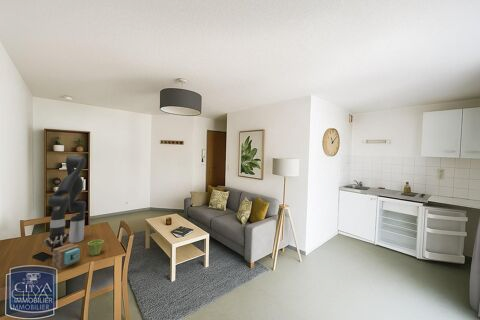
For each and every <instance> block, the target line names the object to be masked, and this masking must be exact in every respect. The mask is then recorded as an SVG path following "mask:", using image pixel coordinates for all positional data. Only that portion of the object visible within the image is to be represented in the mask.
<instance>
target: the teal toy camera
mask: <svg viewBox="0 0 480 320" xmlns="http://www.w3.org/2000/svg"><path fill="white" fill-rule="evenodd" d="M75 253H77V254H78V256H77V258H75V259H72V258H71V255H72V254H75ZM80 255H81V249H80V248H79V249H78V248H76V249H73V250H70V251H67V252H65V254H64V264H70V263H72V262H75V261H77V260H78V261H79V260H80Z"/></svg>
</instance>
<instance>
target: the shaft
mask: <svg viewBox="0 0 480 320" xmlns="http://www.w3.org/2000/svg"><path fill="white" fill-rule="evenodd" d="M58 247H60V242H58V241H57V242H56V244H55V248H58ZM77 256H78V254H77V253H75V254H72V255H71V258H72V259H75V258H77Z"/></svg>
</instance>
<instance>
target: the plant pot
mask: <svg viewBox="0 0 480 320" xmlns="http://www.w3.org/2000/svg"><path fill="white" fill-rule="evenodd" d="M103 244H104V240H103V239H94V240H90V241H89V242H87V245H88V249H89V256H92V257H93V256H98V255H100V254H101V251H102V246H103Z"/></svg>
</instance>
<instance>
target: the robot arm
mask: <svg viewBox="0 0 480 320" xmlns="http://www.w3.org/2000/svg"><path fill="white" fill-rule="evenodd" d="M86 162H87V160H86V158H85V157H84V156H80V155H67V156H66V159H65V168H66V172H67V173H66V174H67V176H66V177H64V178H63V179H62V180H61V181H60V184H58V188H57V190H55V191H54V193H52V195H51V196H50V197H49V199H48V206H49V207H52V208H53V207H56V208H57V207H59V208H58V209H55V210H53V211H51V213H50V214H51V215H50V222H49V235H48V238H45V239H43V242H44V244H45V245H46V246H47V247H48V248H50V252H51V253H53V249H55V244H56V242H60V247H61V246H63V244H64V243H66V242H67V240H68V242H69V244H70V243H72V244H74V243H79V242H82V241H84V237H85V220H86V219H85V217H86V216H85V215H86V207H87V202H86V201H85V200H77V201H76V200H75V199H76V198H77V197H78V196H79V195H80V194H81V192H82V191H83V189H84V181H83V179H82V177H81V176H80V174H82V173H81V172H82V171H83V170H84V168H85V166H86ZM67 195H68V196H67ZM67 209H68V211H69V212H70V213H73V214H74V213H78V214H76V215H74V216H73V215H72V216H71V217H70V223H69V231H68V232H69V233H67V232H66V231H65V230H66V212H67Z"/></svg>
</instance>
